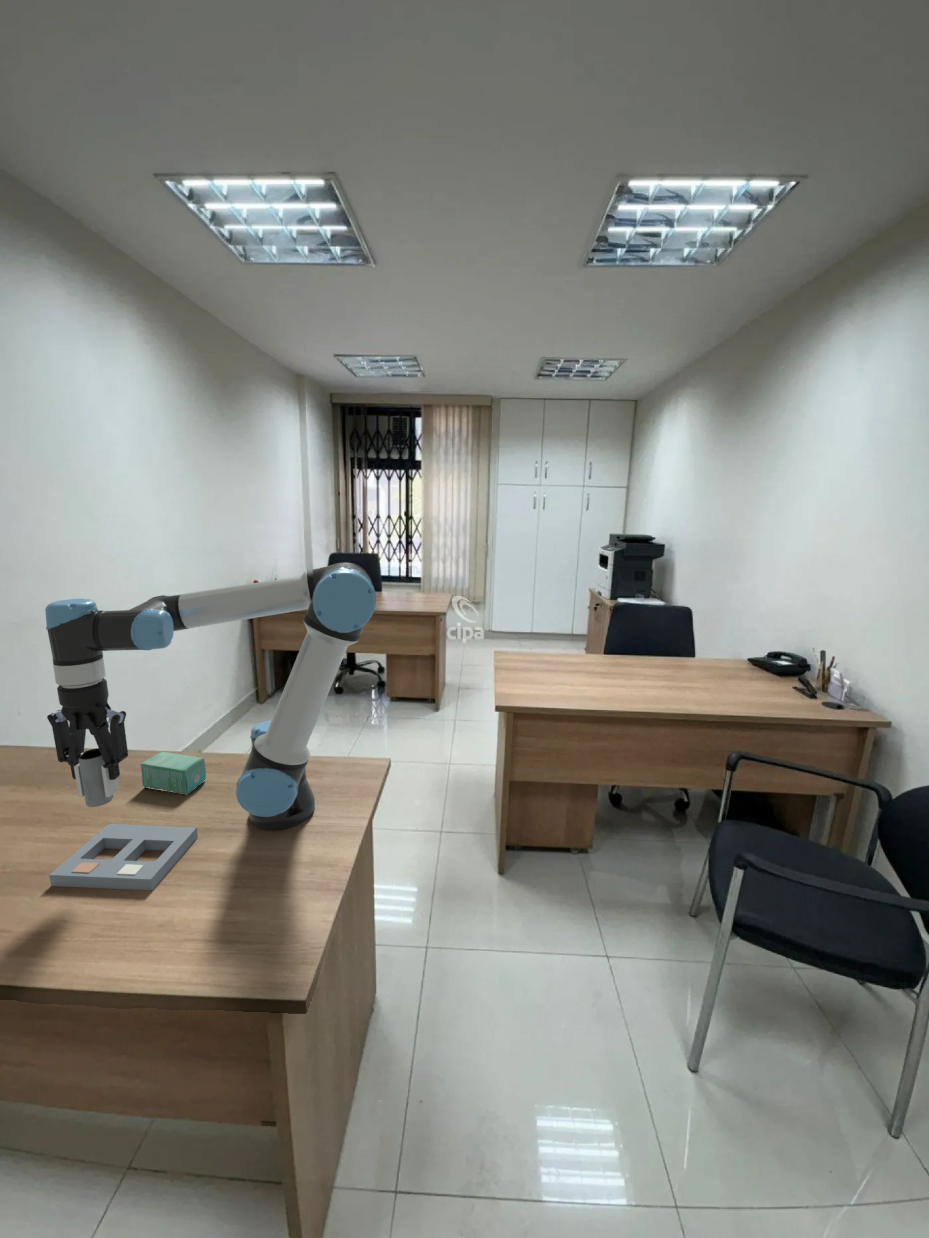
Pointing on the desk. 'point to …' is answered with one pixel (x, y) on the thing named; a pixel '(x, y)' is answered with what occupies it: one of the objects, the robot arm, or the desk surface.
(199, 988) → the desk surface
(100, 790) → the grey hollow cylinder
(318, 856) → the desk surface
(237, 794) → the robot arm
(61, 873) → the socket board
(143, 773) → the box
